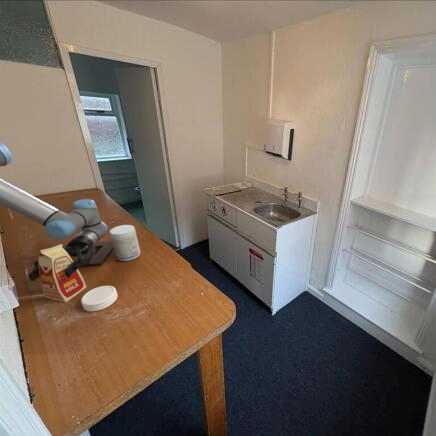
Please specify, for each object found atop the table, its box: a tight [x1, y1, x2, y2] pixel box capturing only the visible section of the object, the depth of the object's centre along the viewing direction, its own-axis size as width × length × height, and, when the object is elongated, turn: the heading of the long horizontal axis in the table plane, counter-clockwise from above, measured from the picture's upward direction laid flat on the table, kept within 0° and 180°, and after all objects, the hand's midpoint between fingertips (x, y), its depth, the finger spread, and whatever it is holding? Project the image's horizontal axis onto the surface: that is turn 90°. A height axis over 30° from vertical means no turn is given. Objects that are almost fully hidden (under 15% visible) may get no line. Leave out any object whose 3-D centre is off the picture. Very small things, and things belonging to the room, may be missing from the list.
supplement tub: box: [109, 224, 141, 262], centre depth 108 cm, size 10×10×15 cm
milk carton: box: [38, 243, 87, 303], centre depth 84 cm, size 9×9×20 cm
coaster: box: [80, 285, 118, 312], centre depth 84 cm, size 10×10×4 cm
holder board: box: [62, 240, 115, 269], centre depth 109 cm, size 22×20×2 cm
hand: (49, 276), depth 80 cm, fingers open, 9 cm apart
